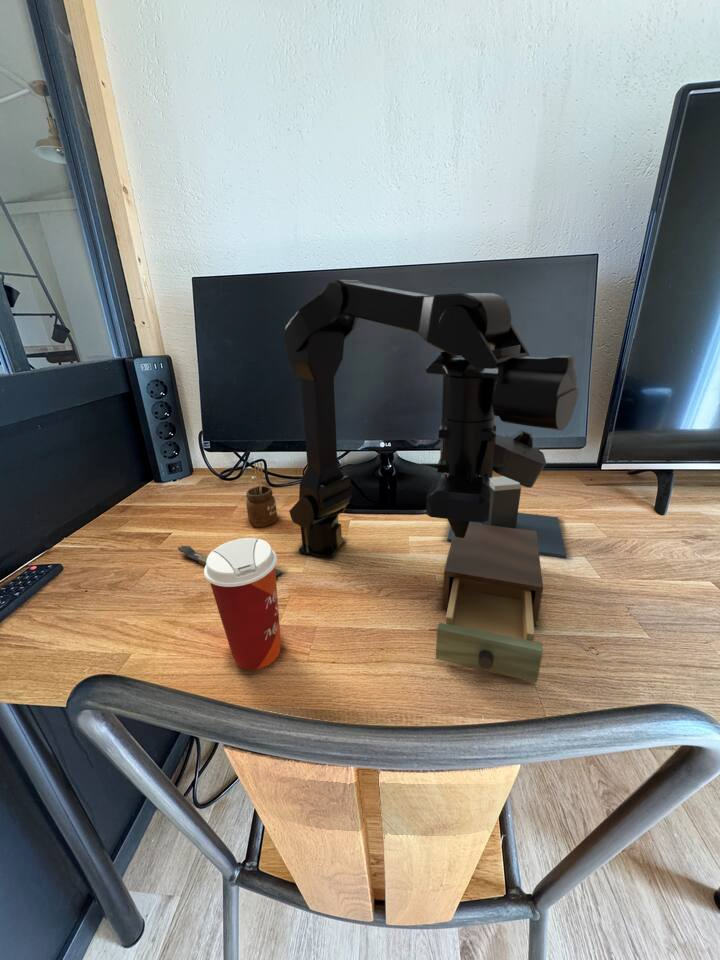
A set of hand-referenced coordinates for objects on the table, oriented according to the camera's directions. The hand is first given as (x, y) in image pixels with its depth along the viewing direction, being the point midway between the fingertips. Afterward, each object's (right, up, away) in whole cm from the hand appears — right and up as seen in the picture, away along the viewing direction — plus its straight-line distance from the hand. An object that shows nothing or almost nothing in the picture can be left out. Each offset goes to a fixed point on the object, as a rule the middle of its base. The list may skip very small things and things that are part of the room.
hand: (460, 536), depth 51 cm
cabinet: (+7, -9, +11) cm, 16 cm away
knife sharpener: (+14, -2, +26) cm, 29 cm away
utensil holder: (-33, -2, +33) cm, 47 cm away
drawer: (+4, -13, +1) cm, 13 cm away
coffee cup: (-26, -15, +1) cm, 30 cm away
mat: (+15, -3, +26) cm, 30 cm away
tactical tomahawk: (-36, -8, +19) cm, 42 cm away
